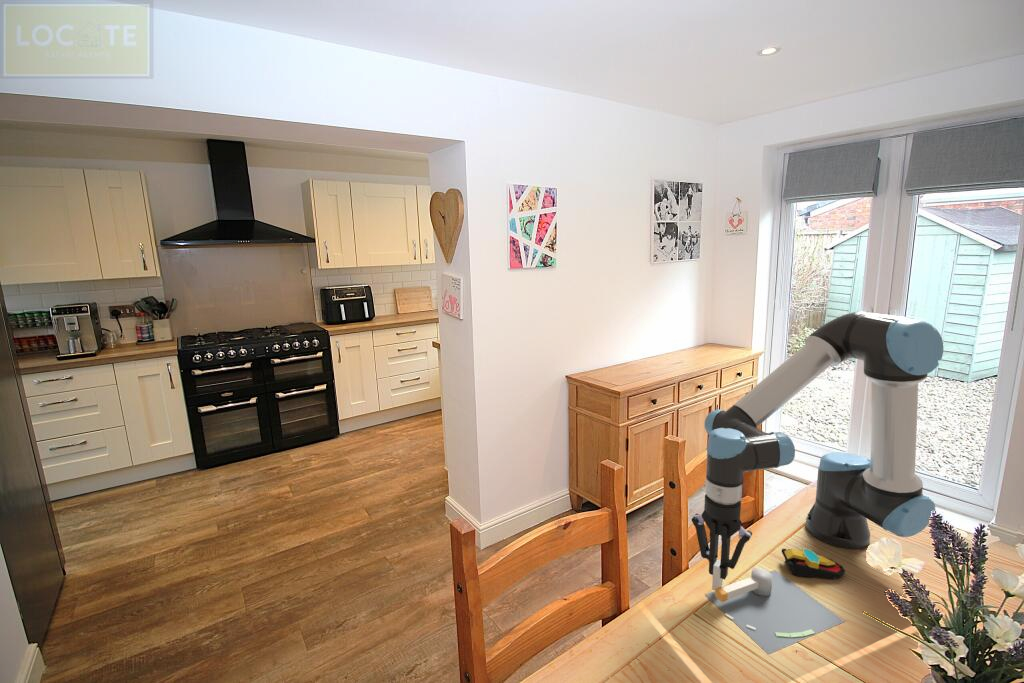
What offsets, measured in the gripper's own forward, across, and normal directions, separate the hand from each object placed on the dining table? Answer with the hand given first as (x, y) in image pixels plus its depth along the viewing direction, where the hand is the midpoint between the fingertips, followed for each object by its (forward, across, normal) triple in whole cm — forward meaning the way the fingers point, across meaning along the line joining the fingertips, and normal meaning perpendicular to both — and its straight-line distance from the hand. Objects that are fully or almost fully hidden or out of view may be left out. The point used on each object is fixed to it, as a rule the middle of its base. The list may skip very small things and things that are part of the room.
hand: (717, 587), depth 114 cm
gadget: (+3, +16, +22) cm, 28 cm away
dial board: (+3, +11, +3) cm, 12 cm away
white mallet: (+1, +5, +3) cm, 6 cm away
